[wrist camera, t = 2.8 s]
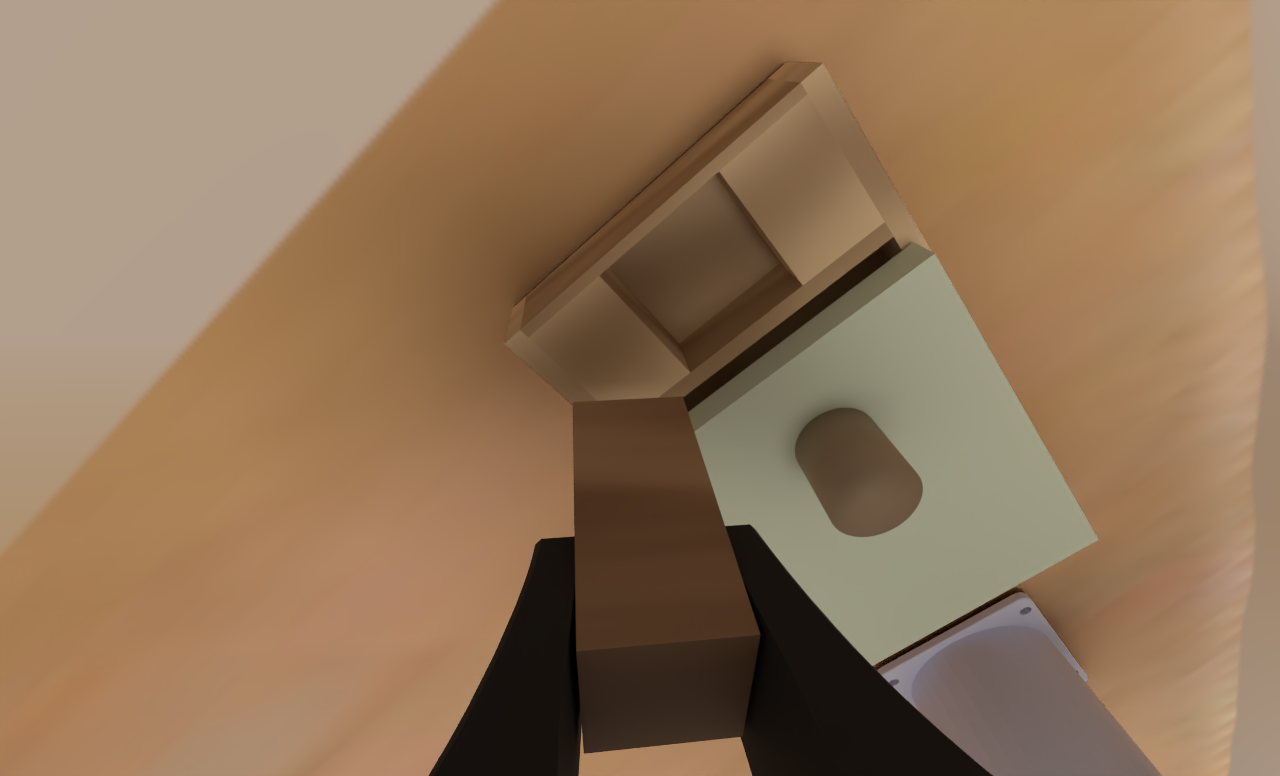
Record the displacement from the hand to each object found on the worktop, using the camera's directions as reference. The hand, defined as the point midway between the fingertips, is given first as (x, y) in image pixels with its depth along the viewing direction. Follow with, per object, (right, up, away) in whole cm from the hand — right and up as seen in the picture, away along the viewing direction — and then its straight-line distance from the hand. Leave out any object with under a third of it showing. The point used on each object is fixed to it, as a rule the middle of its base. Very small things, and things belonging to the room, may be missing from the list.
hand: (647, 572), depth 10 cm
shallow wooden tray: (+6, +2, +10) cm, 12 cm away
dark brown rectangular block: (0, +2, +3) cm, 4 cm away
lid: (+8, 0, +9) cm, 12 cm away
